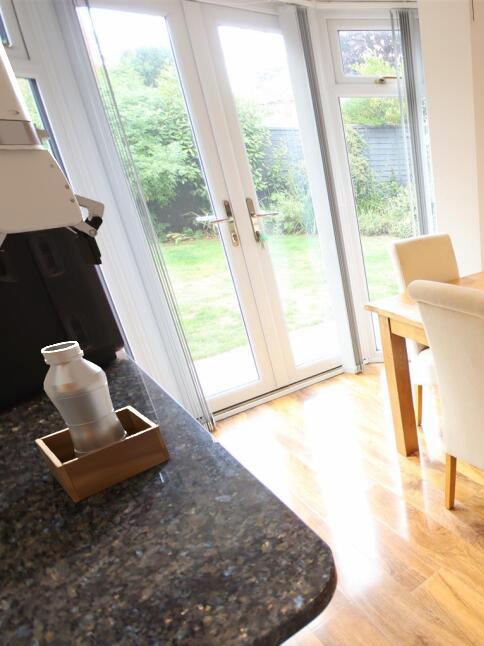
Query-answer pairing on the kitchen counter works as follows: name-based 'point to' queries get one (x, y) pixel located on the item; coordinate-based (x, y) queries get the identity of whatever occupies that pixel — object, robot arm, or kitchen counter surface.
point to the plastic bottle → (81, 398)
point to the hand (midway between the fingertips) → (54, 272)
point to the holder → (104, 456)
